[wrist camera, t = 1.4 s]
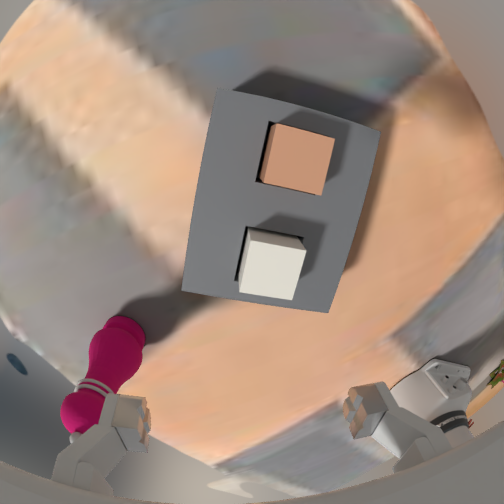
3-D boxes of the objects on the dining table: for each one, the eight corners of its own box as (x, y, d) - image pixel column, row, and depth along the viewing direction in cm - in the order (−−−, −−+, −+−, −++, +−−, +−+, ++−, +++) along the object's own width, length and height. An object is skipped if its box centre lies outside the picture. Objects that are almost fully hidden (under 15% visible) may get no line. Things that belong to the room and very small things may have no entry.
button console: (357, 132, 31) (380, 131, 26) (315, 288, 38) (328, 313, 32) (220, 97, 29) (217, 87, 24) (188, 267, 36) (181, 290, 30)
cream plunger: (295, 234, 31) (306, 250, 26) (283, 277, 33) (291, 300, 28) (247, 225, 30) (250, 240, 26) (238, 270, 32) (239, 292, 27)
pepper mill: (140, 310, 38) (88, 428, 19) (155, 352, 40) (122, 469, 21) (95, 314, 37) (30, 418, 19) (112, 354, 40) (66, 460, 21)
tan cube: (318, 139, 28) (334, 138, 23) (307, 187, 29) (321, 195, 25) (269, 126, 27) (276, 123, 22) (258, 176, 29) (263, 182, 24)
